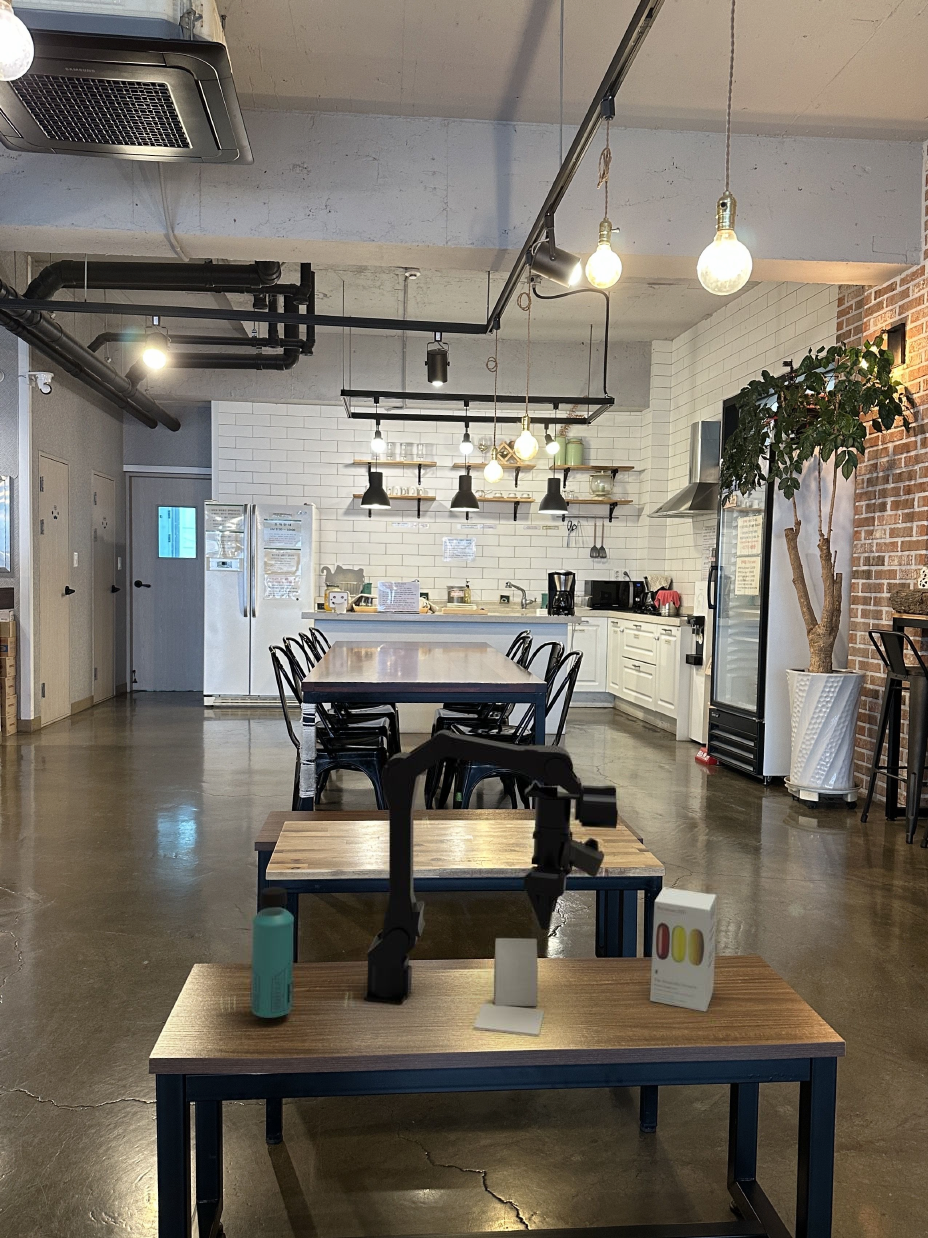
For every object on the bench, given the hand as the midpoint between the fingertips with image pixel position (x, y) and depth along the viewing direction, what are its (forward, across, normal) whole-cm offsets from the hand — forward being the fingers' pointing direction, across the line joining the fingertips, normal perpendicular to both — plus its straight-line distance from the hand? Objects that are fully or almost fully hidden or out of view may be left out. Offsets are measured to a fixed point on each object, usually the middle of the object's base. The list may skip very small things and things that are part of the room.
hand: (548, 920), depth 149 cm
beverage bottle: (+15, -17, +40) cm, 46 cm away
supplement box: (+14, +10, -22) cm, 28 cm away
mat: (+14, -8, +4) cm, 16 cm away
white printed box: (+14, -1, +5) cm, 15 cm away
